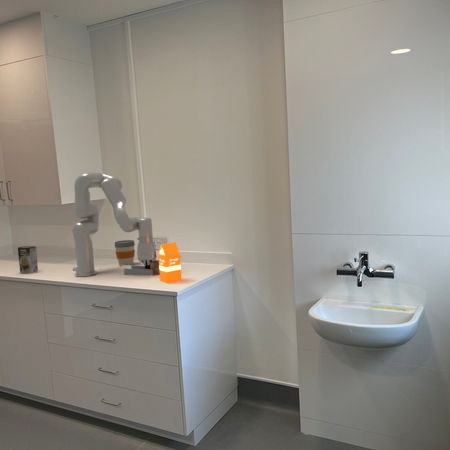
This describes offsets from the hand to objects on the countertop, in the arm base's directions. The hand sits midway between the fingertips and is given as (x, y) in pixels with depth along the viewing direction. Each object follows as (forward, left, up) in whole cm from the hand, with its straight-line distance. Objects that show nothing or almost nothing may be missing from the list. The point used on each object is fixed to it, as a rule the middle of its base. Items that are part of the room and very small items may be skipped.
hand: (148, 271), depth 265 cm
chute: (-4, 0, -2) cm, 4 cm away
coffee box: (-82, -3, -2) cm, 82 cm away
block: (+6, 0, -1) cm, 6 cm away
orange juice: (+20, -12, -2) cm, 23 cm away
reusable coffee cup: (-30, +25, -2) cm, 39 cm away
